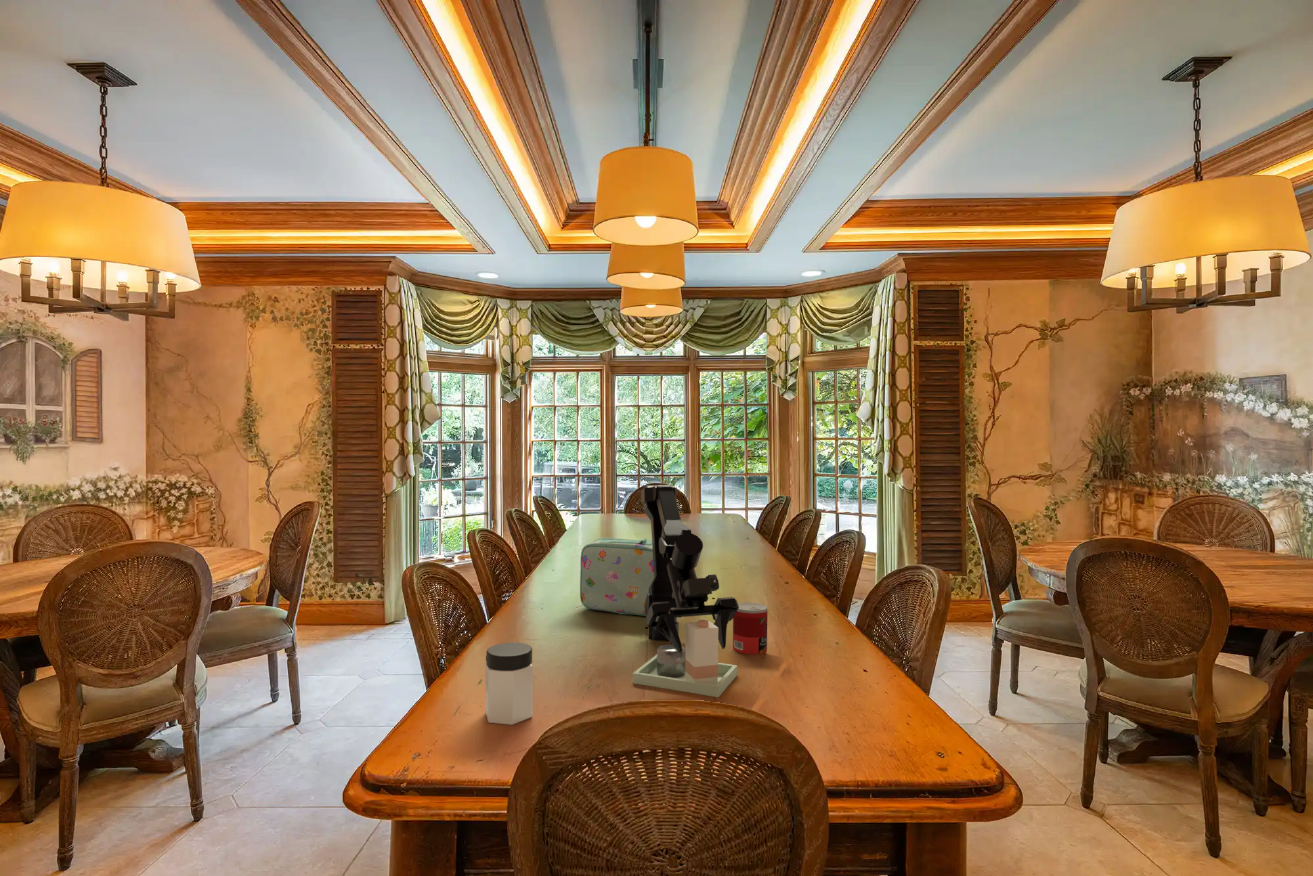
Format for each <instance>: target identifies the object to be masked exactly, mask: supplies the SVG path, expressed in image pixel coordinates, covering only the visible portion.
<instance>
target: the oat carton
mask: <svg viewBox="0 0 1313 876" xmlns="http://www.w3.org/2000/svg"><path fill="white" fill-rule="evenodd" d="M685 649H686V654H685V680H689V681H696V682H702V683H709V684H715V685H716V684H717V683H718V663H719V640H718V627H717V626H715V625H714V623H713V622H711V621H709V620H707V619H699V620H698V621H692V622H685Z"/></svg>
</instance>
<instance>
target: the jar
mask: <svg viewBox="0 0 1313 876" xmlns="http://www.w3.org/2000/svg"><path fill="white" fill-rule="evenodd" d="M485 652H486V653H485V654H486V655H485V715H486V719H487V723H489V724H499V725H510V726H512V725H515V724H518V723H520V722H523V721H525V720H528V719H530V718H532V717H533V716H534V715H533V714H534V713H533V711H534V707H533V706H534V705H533V704H534V699H533V697H534V665H533V647H532V646H531V645H529V644H528V643H523V642H502V643H498V644H497V643H496V644H494V645H492V646H490V647H488V648H487V649H486V651H485Z"/></svg>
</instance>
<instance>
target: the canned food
mask: <svg viewBox="0 0 1313 876" xmlns="http://www.w3.org/2000/svg"><path fill="white" fill-rule="evenodd" d="M738 606H739V608H738V610H737V612H736V614H735V615H734V617H733V619H732V650H733V651H735V652H737V653H740V654H745V655H767V652H768V607H767V605H764V604H763V603H757V602H750V601H749V602H747V601H746V602H738Z"/></svg>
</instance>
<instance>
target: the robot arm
mask: <svg viewBox="0 0 1313 876" xmlns="http://www.w3.org/2000/svg"><path fill="white" fill-rule="evenodd" d="M640 500H641V501H640V502H641V504H643V512H644V513H645V515H646V516H647V518H648V519H649V520H650V527H651V528H650V529H651V530H650V531H651V540H652V548H653V565H654V579H653V581H652V583H651V585H650V587H649V594H647V597H646V601H645V605H644V608H645V615H646V616H645V617H646V619H645V620H646V625H647V627H648V640H654V641H657V642H658V641H659V642H669V643H671V645H673V646H674V647H675V648H676V650H677V651H678V652H679V653H681V652H682V647H683V646H682V642H681V639H680V638H681V637H680V635H679V622H678V621H677V620H678V618H681V619H682V618H685V617H686V618H687V617H700V616H702V617H703V616H711V617H712V619H713V621H714V622H713V624H714V625H715V626H717V627H718V644H720V647H721V649H722V650H724V649H726V645H727V627H728V624H729V623H730V621H733V617H734V615H735V614H736V612H737V610H738V608H739V606H738V603H739V602H738V600H737V599H736V598H735V597H733V596H730V597H729V596H728V597H726V596H725V597H717V599H716V601H715V603H714V604H709V605H708V604H707V605H706V604H705V603H707V602H708V600H709V595H712V594H713V592H716V591H718V590H719V589H720V583H719V579H718V576H717V574H715V573H714V574H708V575H706V576H705V577H699V578H698V576H697V574H696V570H695V569H696V568H697V567H698V564H699V560H700V557H701V555H702V551H703V548H704V543H703V540H701V538H700V537H699V536H697V535H696V534H694V533H693V532H692V529H690V528H689V526H687V525H686V524H684V523H683V521H682V518H681V514H680V511H679V506H678V502H677V487H675V486H674V485H672V484H657V485H656V484H655V485H653V484H652V485H651V484H650V485H645V487H644V488H642V489H641V491H640Z"/></svg>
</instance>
